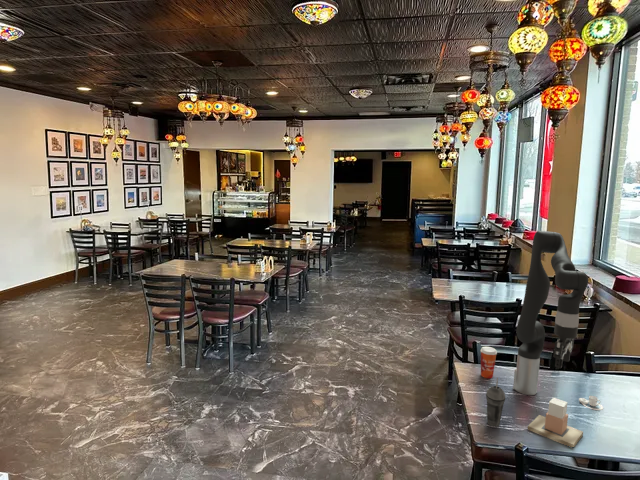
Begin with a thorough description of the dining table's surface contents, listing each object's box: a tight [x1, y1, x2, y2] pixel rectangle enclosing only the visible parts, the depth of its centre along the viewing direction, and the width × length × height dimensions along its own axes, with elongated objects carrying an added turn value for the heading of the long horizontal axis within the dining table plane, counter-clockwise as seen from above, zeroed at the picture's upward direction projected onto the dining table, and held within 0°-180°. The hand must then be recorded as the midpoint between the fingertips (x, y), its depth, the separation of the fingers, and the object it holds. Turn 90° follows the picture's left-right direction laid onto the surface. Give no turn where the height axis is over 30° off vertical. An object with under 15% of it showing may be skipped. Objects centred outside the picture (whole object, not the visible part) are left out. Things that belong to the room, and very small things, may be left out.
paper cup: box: [479, 346, 498, 379], centre depth 213 cm, size 8×8×14 cm
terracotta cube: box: [545, 411, 569, 435], centre depth 166 cm, size 6×6×6 cm
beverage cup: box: [485, 377, 507, 428], centre depth 170 cm, size 7×7×20 cm
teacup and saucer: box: [578, 395, 604, 411], centre depth 188 cm, size 9×8×4 cm
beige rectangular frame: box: [527, 414, 584, 448], centre depth 166 cm, size 16×12×2 cm
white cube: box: [547, 397, 568, 419], centre depth 165 cm, size 5×5×5 cm
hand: (562, 364), depth 162 cm, fingers open, 8 cm apart
